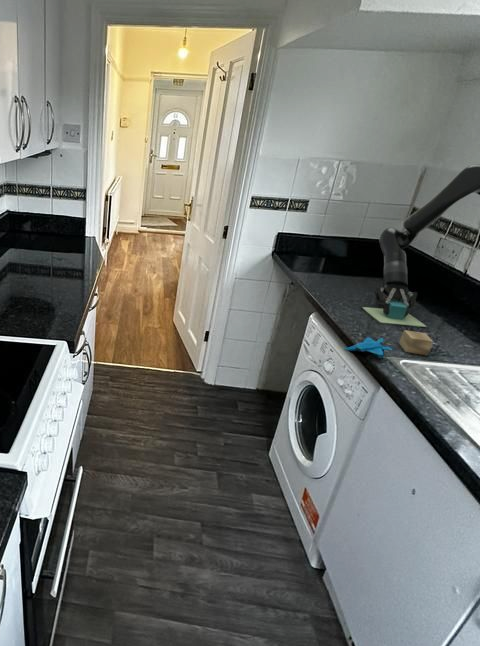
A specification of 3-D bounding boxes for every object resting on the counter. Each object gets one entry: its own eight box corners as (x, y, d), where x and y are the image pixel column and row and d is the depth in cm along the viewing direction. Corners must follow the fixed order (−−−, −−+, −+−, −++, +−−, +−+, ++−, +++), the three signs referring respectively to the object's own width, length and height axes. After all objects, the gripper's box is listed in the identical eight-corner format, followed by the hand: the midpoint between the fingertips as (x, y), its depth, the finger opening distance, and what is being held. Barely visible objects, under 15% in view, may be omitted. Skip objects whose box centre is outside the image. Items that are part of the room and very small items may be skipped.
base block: (419, 346, 135) (425, 333, 133) (427, 355, 130) (433, 341, 128) (398, 343, 136) (404, 329, 134) (405, 352, 131) (411, 338, 129)
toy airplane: (367, 344, 134) (371, 332, 132) (397, 359, 126) (402, 347, 124) (342, 350, 130) (346, 338, 128) (372, 366, 122) (376, 354, 120)
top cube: (397, 314, 158) (402, 302, 156) (402, 319, 153) (407, 307, 151) (383, 312, 159) (387, 300, 157) (387, 317, 154) (392, 305, 152)
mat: (404, 311, 162) (404, 310, 162) (426, 327, 149) (426, 326, 149) (361, 307, 163) (362, 306, 163) (380, 323, 150) (380, 322, 150)
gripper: (378, 268, 158) (378, 308, 152) (421, 273, 155) (423, 315, 149) (370, 276, 165) (369, 315, 159) (411, 282, 161) (412, 322, 156)
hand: (395, 315), depth 154 cm, fingers closed on top cube, 5 cm apart
